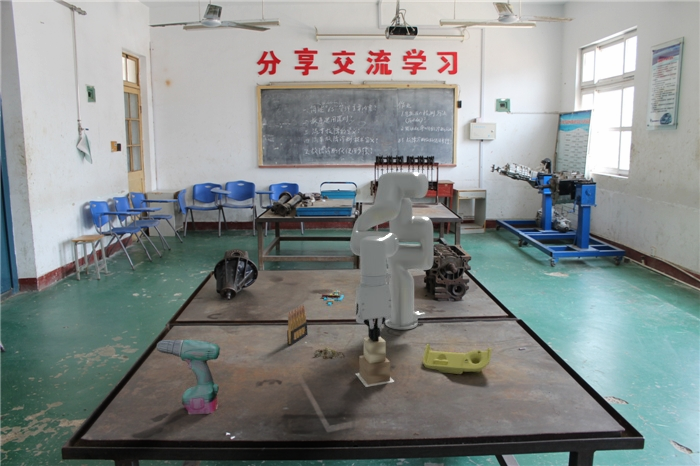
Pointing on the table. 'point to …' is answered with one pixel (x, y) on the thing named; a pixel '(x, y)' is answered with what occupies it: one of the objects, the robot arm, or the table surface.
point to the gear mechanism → (335, 297)
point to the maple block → (374, 350)
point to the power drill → (196, 372)
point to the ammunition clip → (296, 325)
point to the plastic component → (456, 360)
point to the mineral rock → (328, 354)
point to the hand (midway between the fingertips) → (374, 339)
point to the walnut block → (374, 371)
